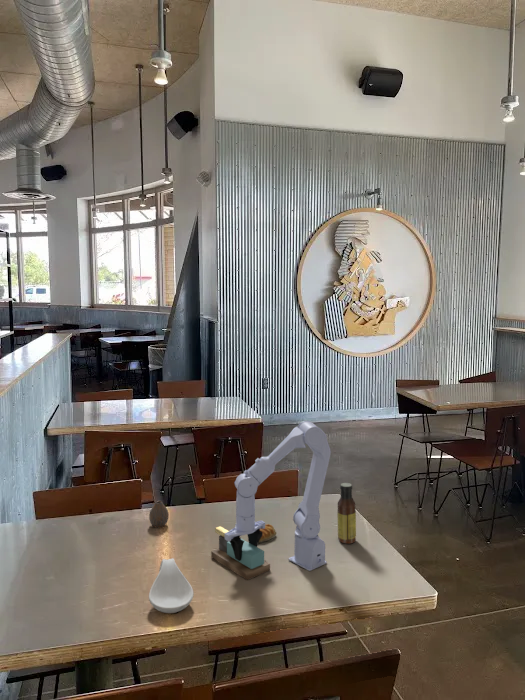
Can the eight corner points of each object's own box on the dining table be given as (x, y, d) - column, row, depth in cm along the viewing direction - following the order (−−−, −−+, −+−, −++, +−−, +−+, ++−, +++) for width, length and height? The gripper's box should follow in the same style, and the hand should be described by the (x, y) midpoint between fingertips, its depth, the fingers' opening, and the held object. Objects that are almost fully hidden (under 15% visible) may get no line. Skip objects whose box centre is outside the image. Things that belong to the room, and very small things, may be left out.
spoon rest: (196, 616, 135) (196, 590, 135) (150, 623, 132) (149, 596, 132) (185, 571, 158) (185, 548, 158) (146, 576, 155) (145, 553, 155)
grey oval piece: (145, 527, 188) (145, 504, 187) (155, 520, 195) (154, 497, 194) (163, 530, 186) (162, 506, 185) (171, 522, 193) (171, 499, 192)
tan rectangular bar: (231, 536, 167) (231, 532, 167) (226, 538, 166) (226, 534, 166) (220, 530, 172) (220, 526, 172) (215, 532, 170) (215, 527, 170)
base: (270, 570, 159) (270, 550, 158) (247, 580, 153) (247, 559, 153) (233, 548, 173) (233, 530, 172) (211, 557, 167) (211, 538, 166)
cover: (264, 563, 158) (264, 551, 158) (251, 569, 155) (251, 556, 154) (239, 549, 167) (239, 537, 167) (226, 554, 164) (226, 542, 163)
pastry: (262, 546, 175) (262, 535, 175) (246, 540, 179) (246, 530, 179) (277, 536, 183) (277, 525, 183) (262, 531, 187) (262, 521, 186)
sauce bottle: (355, 537, 182) (356, 481, 181) (356, 545, 176) (358, 488, 174) (336, 536, 183) (337, 480, 181) (337, 544, 177) (338, 487, 175)
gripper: (255, 504, 167) (254, 544, 168) (218, 515, 158) (218, 559, 159) (269, 510, 162) (269, 552, 163) (232, 523, 152) (232, 567, 154)
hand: (245, 556), depth 161 cm, fingers closed on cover, 5 cm apart
